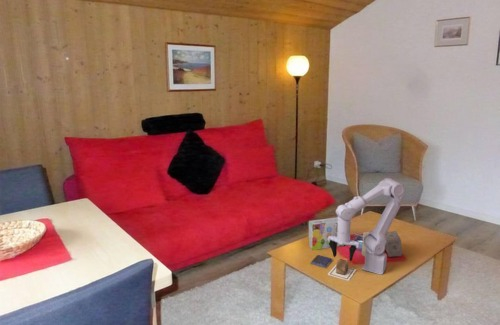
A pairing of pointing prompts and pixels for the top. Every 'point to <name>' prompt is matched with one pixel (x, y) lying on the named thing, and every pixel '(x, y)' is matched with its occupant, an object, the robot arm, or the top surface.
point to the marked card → (344, 277)
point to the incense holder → (393, 244)
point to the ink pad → (321, 261)
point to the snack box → (322, 233)
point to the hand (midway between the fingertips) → (342, 258)
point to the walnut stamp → (342, 267)
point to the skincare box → (363, 244)
